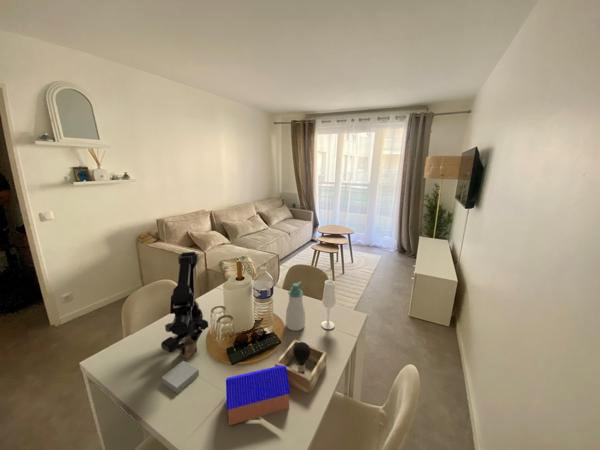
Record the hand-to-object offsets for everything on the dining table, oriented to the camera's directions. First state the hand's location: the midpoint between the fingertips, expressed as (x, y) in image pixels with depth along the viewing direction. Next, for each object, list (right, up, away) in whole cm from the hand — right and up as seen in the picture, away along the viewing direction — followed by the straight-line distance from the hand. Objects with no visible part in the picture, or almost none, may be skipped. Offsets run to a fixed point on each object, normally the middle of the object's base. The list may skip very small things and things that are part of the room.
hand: (188, 350), depth 104 cm
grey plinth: (+3, -5, -12) cm, 14 cm away
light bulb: (+49, -4, -8) cm, 50 cm away
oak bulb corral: (+49, -4, -8) cm, 50 cm away
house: (+34, -7, -20) cm, 40 cm away
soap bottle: (+46, +3, +19) cm, 50 cm away
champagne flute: (+63, +3, +20) cm, 66 cm away
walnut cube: (0, -1, 0) cm, 1 cm away
